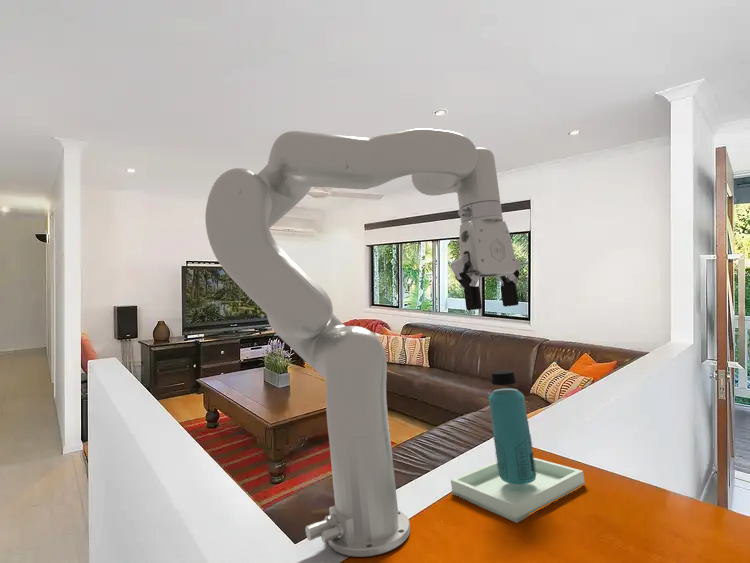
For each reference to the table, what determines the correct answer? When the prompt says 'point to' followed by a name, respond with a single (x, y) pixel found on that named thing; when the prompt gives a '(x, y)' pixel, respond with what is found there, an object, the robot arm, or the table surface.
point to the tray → (517, 489)
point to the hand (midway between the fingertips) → (493, 307)
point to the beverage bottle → (511, 432)
